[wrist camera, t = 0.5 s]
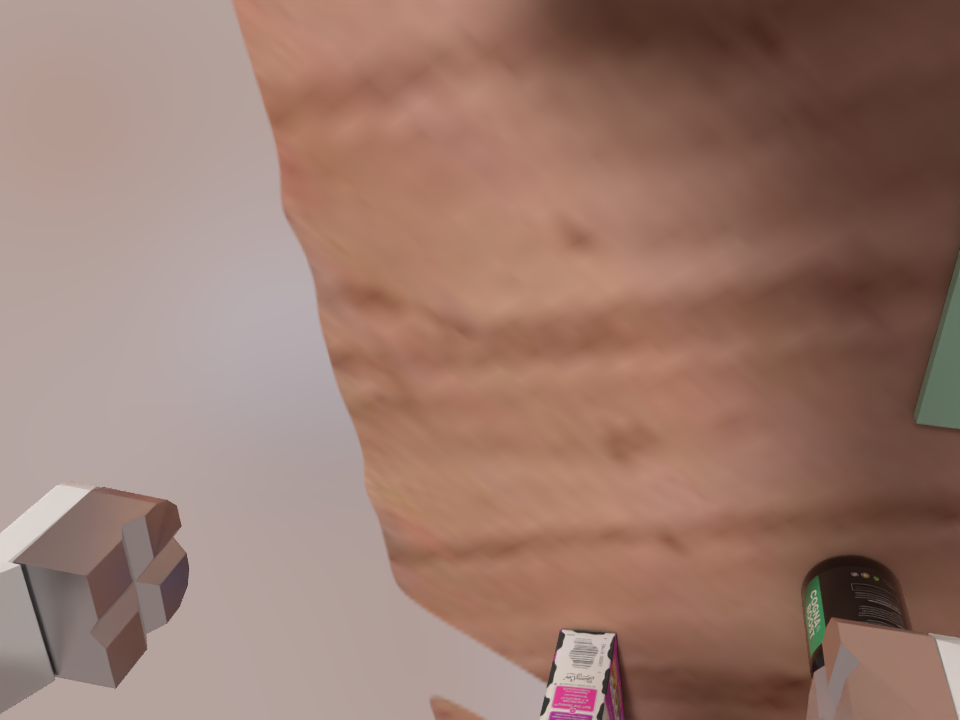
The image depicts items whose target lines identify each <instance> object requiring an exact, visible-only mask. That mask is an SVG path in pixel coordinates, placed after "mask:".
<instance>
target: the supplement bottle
mask: <svg viewBox="0 0 960 720" xmlns="http://www.w3.org/2000/svg"><path fill="white" fill-rule="evenodd" d="M801 596H802V607H803V615H804V624H805V632H806V641H807V649H808V658H809V666H810V673H811V677H812V679H813V675H814V672H815V671H817V670H818V669H820V668H821V667H823V666H825V663H824V655H823V647H822V641H823V638H824V634H825V631H826V627H827V625H828V623H829V621H830V620H831V618H832V617H833V618H839V619H845V620H851V621H857V622H863V623H869V624H875V625H881V626H887V627H892V628H898V629H904V630H910V631H913V629H912V625H911V622H910V618H909V614H908V611H907V607H906V603H905V599H904V596H903V592H902V589H901V586H900V583H899V581H898V580H897V578H896V576H895V575H894V574H893V573H892V572H891V571H890V570H889V569H888V568H887V567H885V566H884V565H883V564H881V563H879V562H877V561H875V560H873V559H870V558H866V557H862V556H855V555H843V556H836V557H832V558H829V559H827V560H824V561H822V562H820V563H819V564H817V565H816V566H815V567H813V568H812V569H811V570H810V571H809V573H808V574H807V575H806V577H805V579H804V581H803V584H802V590H801Z"/></svg>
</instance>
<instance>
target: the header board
mask: <svg viewBox="0 0 960 720" xmlns="http://www.w3.org/2000/svg"><path fill="white" fill-rule="evenodd" d="M913 416H914V419H915V421H916V424H924V425H932V426H940V427H948V428H956V429H960V250H959V253H958V257H957V261H956V264H955V268H954V271H953V275H952V279H951V282H950V286H949V289H948V293H947V297H946V300H945V304H944V307H943V311H942V315H941V318H940V322H939V325H938V329H937V333H936V336H935V340H934V343H933V347H932V351H931V354H930V358H929V361H928V365H927V368H926V372H925V376H924V379H923V383H922V386H921V390H920V394H919V397H918V401H917V404H916V408H915V412H914V415H913Z"/></svg>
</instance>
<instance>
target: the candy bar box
mask: <svg viewBox="0 0 960 720" xmlns="http://www.w3.org/2000/svg"><path fill="white" fill-rule="evenodd" d="M539 720H625V716H624V707H623V698H622V689H621V680H620V670H619V660H618V651H617V641H616V634H615V633H613V632H602V631H587V630H578V629H561V630H560V633H559V638H558V642H557V646H556V651H555V655H554V659H553V663H552V668H551V672H550V676H549V681H548V685H547V689H546V693H545V697H544V702H543V706H542V710H541V714H540V718H539Z"/></svg>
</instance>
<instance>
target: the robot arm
mask: <svg viewBox="0 0 960 720" xmlns="http://www.w3.org/2000/svg"><path fill="white" fill-rule="evenodd" d="M180 528H181V522H180V518H179V514H178V509H177V506H176V505H175V504H173V503H171V502H170V501H168V500H165V499H160V498H154V497H150V496H145V495H140V494H135V493H130V492H125V491H120V490H116V489H111V488H106V487H102V488H101V487H97V486H92V485H87V484H82V483H78V482H73V481H70V482H66V483H62V484H58V485H57V486H56V487H54V488H53V489H52V490H51V491H50V492H48V493H47V494H46V495H45V496H44V497H43V498H41V499H40V500H39V501H38V502H37V503H35V504H34V505H33V506H32V507H31V508H30V509H28V510H27V511H26V512H25V513H24V514H23V515H21V516H20V517H19V518H18V519H17V520H15V521H14V522H13V523H12V524H11V525H10V526H8V527H7V528H6V529H5V530H4V531H2V532H1V533H0V714H1V713H3V712H4V711H6V710H8V709H9V708H11V707H12V706H14V705H16V704H17V703H19V702H21V701H22V700H24V699H25V698H27V697H29V696H30V695H32V694H34V693H35V692H37V691H39V690H40V689H42V688H43V687H45V686H47V685H48V684H50V683H52V682H53V681H54V680H55V677H59V678H64V679H69V680H74V681H80V682H84V683H90V684H95V685H100V686H105V687H110V688H117V686H118V685H119V684H120V683H121V681H122V680H123V679H124V678H125V676H126V675H127V674H128V672H129V671H130V670H131V669H132V667H133V666H134V665H135V664H136V662H137V661H138V660H139V659H140V657H141V656H142V655H143V654H144V652H145V651H146V650H147V637H146V634H147V633H149V632H151V631H153V630H155V629H157V628H159V627H161V626H163V625H165V624H167V623H168V621H169V620H170V619H171V618H172V616H173V615H174V613H175V612H176V611H177V610H178V608H179V607H180V604H181V602H182V599H183V596H184V594H185V591H186V589H187V586H188V575H189V565H188V559H187V554H186V552H185V551H184V549H183V548H182V547H181V546H180V545H179V543H178V542H177V541H176V540H175V539H174V536H175V535H176V533H177V532H178V530H179V529H180ZM822 647H823V655H824V663H825V666H823V667H821V668H820V669H818V670H817V671H815V672H814V675H813V679H812V684H811V688H810V692H809V699H808V708H807V717H806V720H960V638H958V637H952V636H946V635H939V634H933V633H929V634H926V633H922V632H916V631H910V630H904V629H898V628H892V627H887V626H881V625H875V624H869V623H863V622H857V621H851V620H845V619H839V618H833V617H832V618H831V620H830V621H829V623H828V625H827V627H826V631H825V634H824V638H823V641H822Z"/></svg>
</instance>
